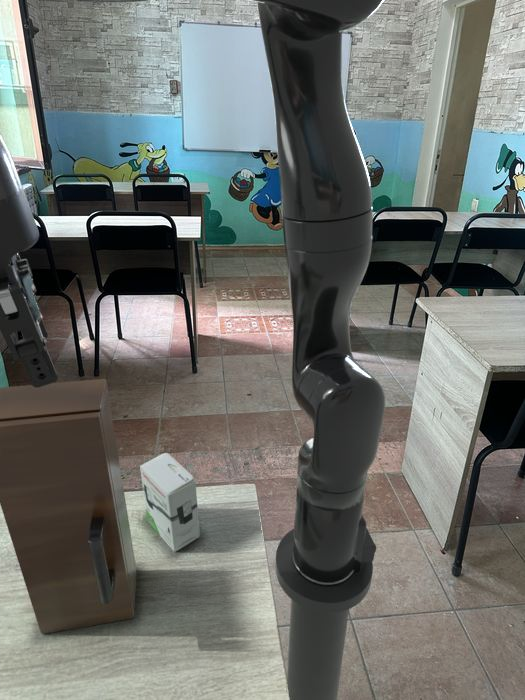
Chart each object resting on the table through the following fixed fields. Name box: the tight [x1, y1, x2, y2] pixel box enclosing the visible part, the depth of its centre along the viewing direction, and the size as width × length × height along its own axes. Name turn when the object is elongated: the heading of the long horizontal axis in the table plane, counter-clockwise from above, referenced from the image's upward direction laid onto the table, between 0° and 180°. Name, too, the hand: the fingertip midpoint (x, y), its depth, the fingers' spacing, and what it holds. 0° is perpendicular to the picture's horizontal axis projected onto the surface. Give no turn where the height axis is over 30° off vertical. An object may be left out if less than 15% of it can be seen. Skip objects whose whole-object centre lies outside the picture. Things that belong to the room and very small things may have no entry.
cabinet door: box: [0, 412, 135, 635], centre depth 54 cm, size 5×12×32 cm, turn 101°
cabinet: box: [0, 378, 137, 611], centre depth 59 cm, size 6×12×32 cm, turn 101°
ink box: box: [139, 452, 200, 553], centre depth 74 cm, size 9×5×12 cm, turn 42°
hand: (41, 359), depth 47 cm, fingers open, 8 cm apart
